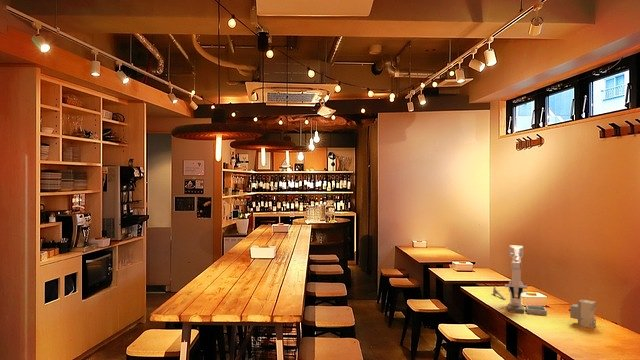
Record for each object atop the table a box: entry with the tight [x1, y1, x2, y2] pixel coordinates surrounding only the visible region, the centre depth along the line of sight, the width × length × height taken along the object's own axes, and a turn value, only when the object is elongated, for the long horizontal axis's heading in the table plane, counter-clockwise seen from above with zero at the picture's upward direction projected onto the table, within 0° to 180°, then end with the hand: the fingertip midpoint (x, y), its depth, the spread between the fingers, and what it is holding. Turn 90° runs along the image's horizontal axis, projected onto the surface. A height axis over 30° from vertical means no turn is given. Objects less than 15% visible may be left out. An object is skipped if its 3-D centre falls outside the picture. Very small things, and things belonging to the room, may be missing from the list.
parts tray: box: [525, 304, 548, 316], centre depth 330 cm, size 12×12×3 cm
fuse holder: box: [507, 303, 525, 314], centre depth 334 cm, size 12×10×2 cm
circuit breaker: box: [568, 299, 597, 329], centre depth 303 cm, size 8×14×15 cm, turn 45°
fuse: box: [513, 291, 518, 304], centre depth 334 cm, size 3×3×8 cm
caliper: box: [492, 286, 507, 301], centre depth 375 cm, size 20×1×6 cm, turn 4°
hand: (515, 298), depth 334 cm, fingers closed on fuse, 3 cm apart
